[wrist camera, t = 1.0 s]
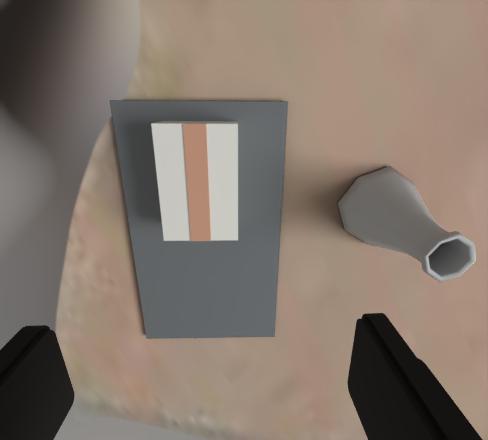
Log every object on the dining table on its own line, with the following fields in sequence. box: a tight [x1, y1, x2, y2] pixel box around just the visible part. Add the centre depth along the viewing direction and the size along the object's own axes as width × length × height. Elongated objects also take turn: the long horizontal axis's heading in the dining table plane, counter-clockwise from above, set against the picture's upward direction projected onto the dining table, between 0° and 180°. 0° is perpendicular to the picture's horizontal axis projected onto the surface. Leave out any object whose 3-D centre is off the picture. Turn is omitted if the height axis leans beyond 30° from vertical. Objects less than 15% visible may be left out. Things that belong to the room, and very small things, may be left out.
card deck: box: [151, 121, 238, 241], centre depth 23 cm, size 9×6×4 cm, turn 0°
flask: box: [338, 166, 476, 282], centre depth 22 cm, size 7×7×10 cm
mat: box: [110, 100, 288, 339], centre depth 27 cm, size 24×14×1 cm, turn 0°
